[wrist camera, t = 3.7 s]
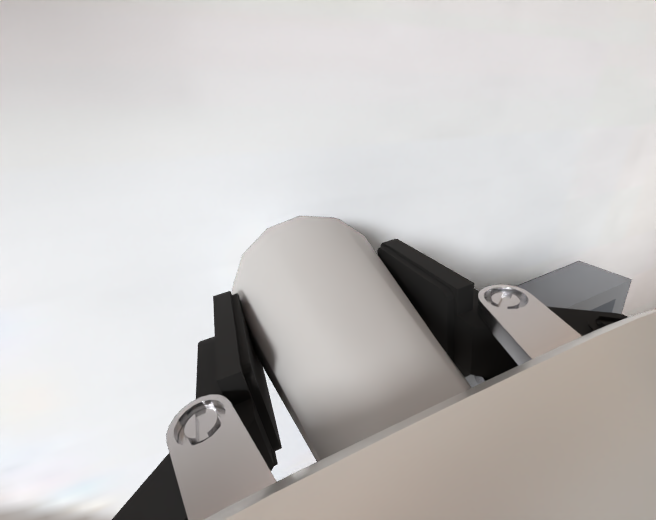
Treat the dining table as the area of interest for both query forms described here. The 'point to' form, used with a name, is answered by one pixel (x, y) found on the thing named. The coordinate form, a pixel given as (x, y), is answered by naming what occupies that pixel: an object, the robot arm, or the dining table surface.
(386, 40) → the dining table surface
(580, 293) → the tray
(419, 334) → the salt shaker
